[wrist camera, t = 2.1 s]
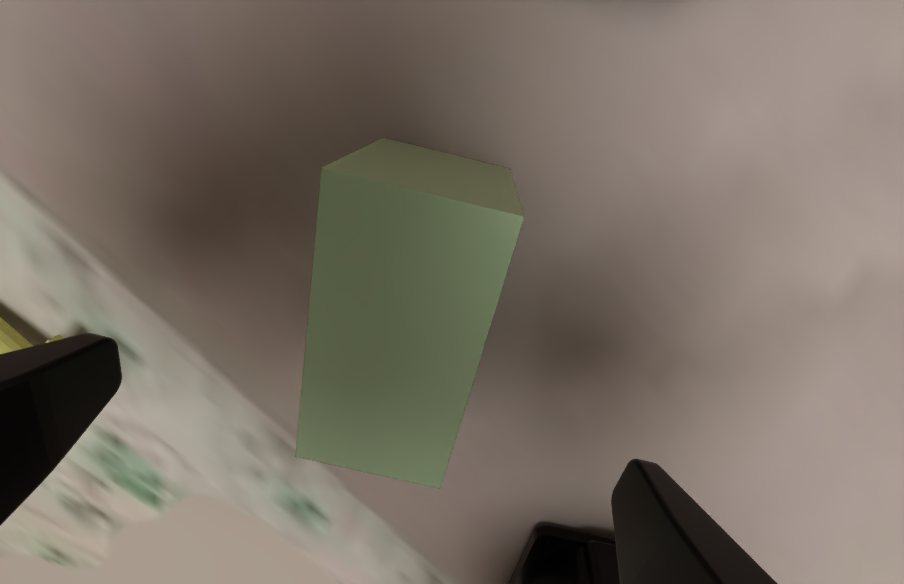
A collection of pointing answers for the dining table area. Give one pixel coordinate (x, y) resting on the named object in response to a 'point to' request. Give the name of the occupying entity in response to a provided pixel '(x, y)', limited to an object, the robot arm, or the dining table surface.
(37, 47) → the dining table surface
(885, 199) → the dining table surface
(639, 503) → the robot arm
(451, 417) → the green brick
